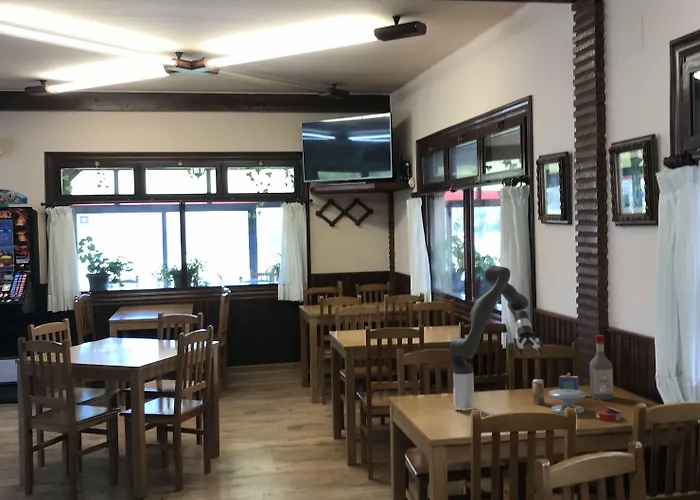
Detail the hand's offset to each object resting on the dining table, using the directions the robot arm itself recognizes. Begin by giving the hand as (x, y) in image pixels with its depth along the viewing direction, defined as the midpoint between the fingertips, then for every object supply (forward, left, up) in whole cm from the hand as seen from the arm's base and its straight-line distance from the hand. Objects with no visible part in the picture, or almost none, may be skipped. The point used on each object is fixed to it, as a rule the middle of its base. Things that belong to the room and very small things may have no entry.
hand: (531, 355), depth 341 cm
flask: (+19, +4, -21) cm, 28 cm away
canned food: (+22, -41, -21) cm, 51 cm away
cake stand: (+9, -26, -21) cm, 35 cm away
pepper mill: (0, -11, -21) cm, 24 cm away
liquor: (+32, -5, -21) cm, 39 cm away
